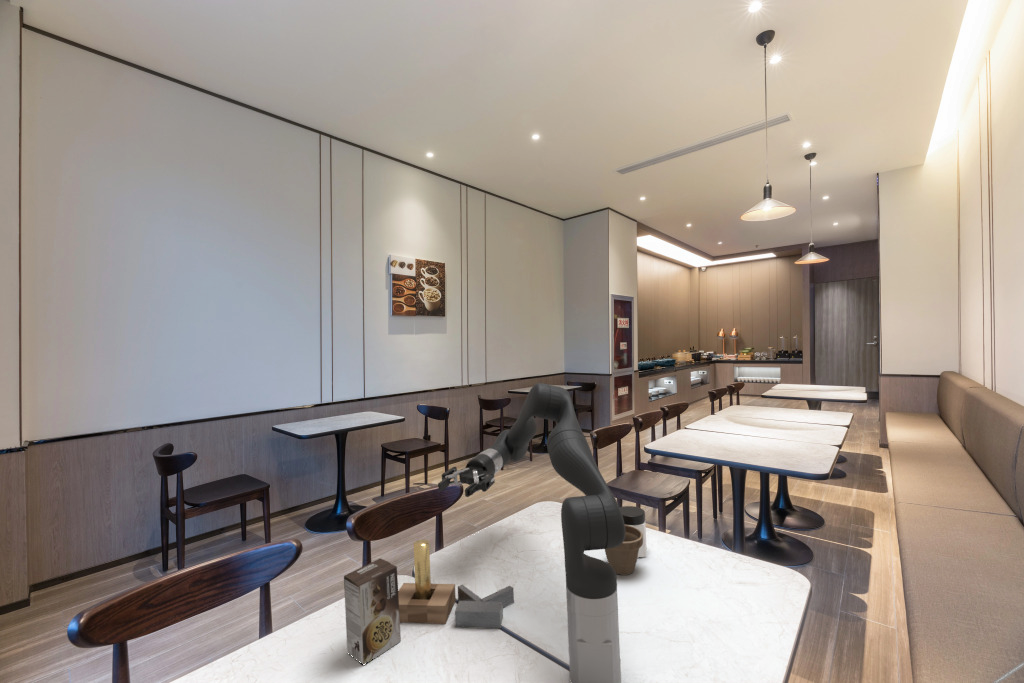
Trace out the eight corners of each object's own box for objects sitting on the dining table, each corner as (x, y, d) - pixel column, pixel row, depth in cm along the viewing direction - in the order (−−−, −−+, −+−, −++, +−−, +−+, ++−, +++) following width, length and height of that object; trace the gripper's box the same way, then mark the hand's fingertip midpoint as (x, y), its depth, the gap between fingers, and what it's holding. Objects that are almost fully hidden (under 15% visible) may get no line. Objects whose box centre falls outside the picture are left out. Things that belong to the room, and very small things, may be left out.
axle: (429, 615, 102) (426, 546, 102) (414, 615, 103) (411, 546, 103) (433, 606, 106) (431, 539, 106) (419, 606, 106) (416, 539, 106)
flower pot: (654, 574, 116) (652, 536, 116) (617, 585, 112) (615, 545, 112) (627, 555, 127) (625, 520, 127) (593, 564, 123) (591, 528, 123)
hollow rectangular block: (445, 623, 99) (445, 605, 99) (390, 621, 101) (389, 604, 101) (455, 600, 108) (455, 584, 108) (404, 599, 110) (403, 582, 110)
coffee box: (383, 630, 98) (381, 557, 98) (401, 641, 94) (398, 565, 94) (345, 653, 91) (342, 574, 91) (363, 667, 87) (360, 584, 87)
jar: (619, 543, 134) (617, 504, 135) (647, 547, 132) (645, 506, 132) (615, 557, 126) (614, 515, 126) (645, 561, 123) (643, 518, 123)
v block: (508, 628, 96) (508, 612, 96) (447, 626, 98) (446, 610, 98) (514, 600, 107) (513, 585, 107) (459, 598, 109) (458, 584, 109)
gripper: (463, 450, 132) (429, 473, 118) (505, 456, 125) (474, 481, 111) (465, 474, 133) (432, 499, 119) (507, 481, 127) (476, 509, 112)
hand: (452, 490), depth 115 cm, fingers open, 8 cm apart
